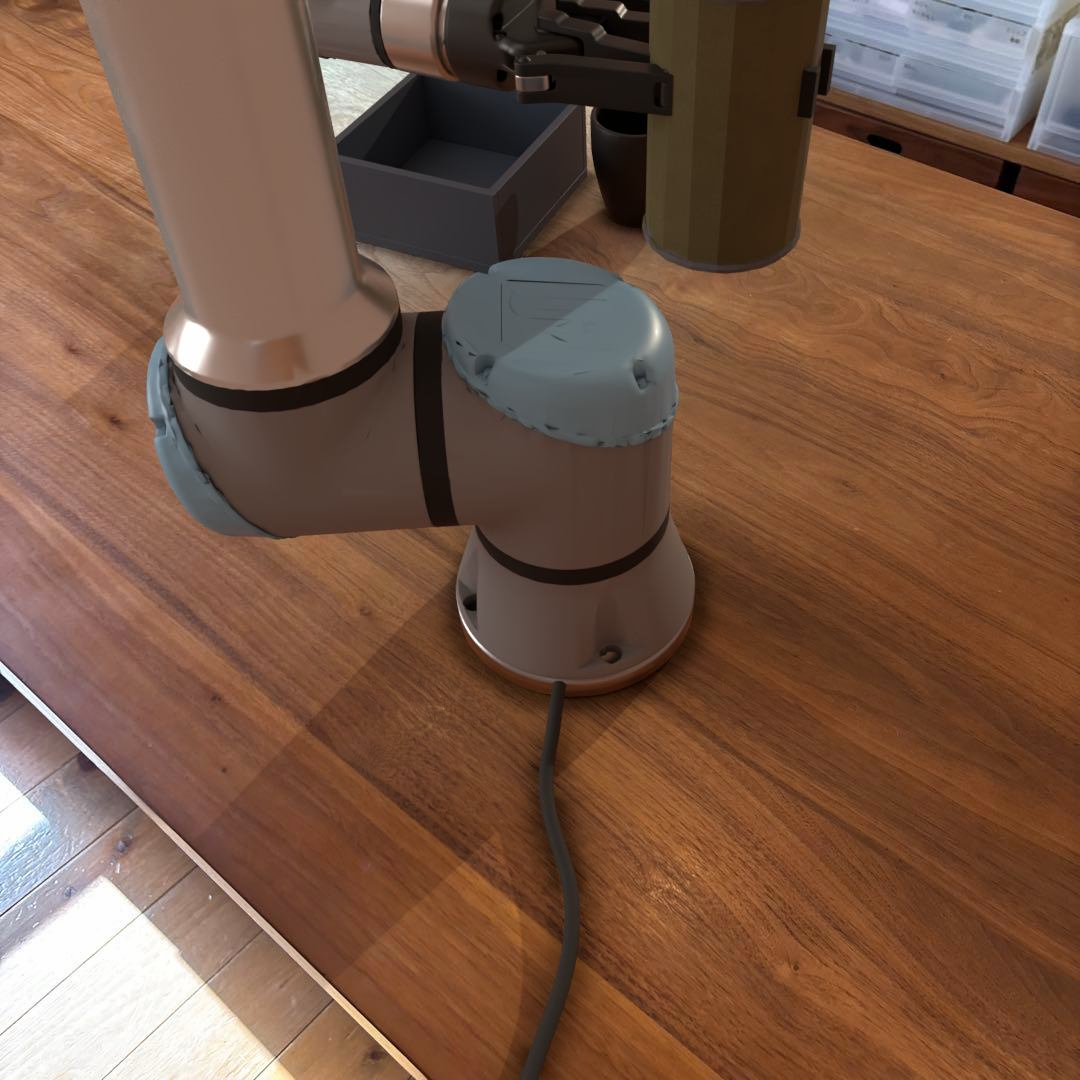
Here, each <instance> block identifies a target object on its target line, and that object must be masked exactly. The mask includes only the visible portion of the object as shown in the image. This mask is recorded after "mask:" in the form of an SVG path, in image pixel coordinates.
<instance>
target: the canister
mask: <svg viewBox="0 0 1080 1080" xmlns="http://www.w3.org/2000/svg"><path fill="white" fill-rule="evenodd" d="M830 3H831V0H650V27H649V52H650V64H657V65H658V66H659V67H661V68H662V69H665V68H666V69H668V72H669V74H671V75H673V100H672V116H664V115H655V114H648V124H647V172H646V213H645V215H644V217H643V223H642V227H641V228H642V232H643V236H644V239H645V240H644V241H645V242H646V243H647V245H648V246H649V247H650V249H651V250H652V251H653V252H654V253H656V254H657V255H659V256H660V257H662V258H663V259H664V260H665V261H667V262H669V263H672V264H675V265H677V266H680V267H682V268H685V269H689V270H690V271H697V272H703V273H712V274H724V275H729V274H737V273H739V274H740V273H745V272H751V271H755V270H759V269H764V268H765V267H769V266H771V265H773V264H775V263H777V262H778V261H779V260H781V259H782V258H784V257H785V256H787V255H788V254H789V253H790V252H792V250H793V249H794V248H795V247H796V246H797V244H798V243H799V240H800V238H801V232H802V220H801V218H800V214H801V208H802V201H803V194H804V193H803V192H804V186H805V180H806V172H807V167H808V166H807V165H808V157H809V150H810V145H811V137H812V130H813V122H814V117H815V114H814V115H813V116H812V118H811V119H809V118H804V117H798V116H797V113H798V105H799V97H800V89H801V80H802V72H803V70H804V69H806V68H807V67H809V66H810V65H813V66H819V67H820V66H821V59H822V52H823V46H824V43H825V39H826V31H827V26H828V25H827V24H828V19H829V18H828V17H829V10H830ZM655 97H657V98H658V99H659V83H656V84H655Z"/></svg>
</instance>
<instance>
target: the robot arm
mask: <svg viewBox="0 0 1080 1080" xmlns="http://www.w3.org/2000/svg"><path fill="white" fill-rule="evenodd" d="M78 1H79V3H80V7H81V9H82V13H83V16H84V18H85V21H86V24H87V27H88V29H89V33H90V35H91V38H92V41H93V44H94V47H95V50H96V53H97V56H98V58H99V62H100V64H101V67H102V70H103V73H104V76H105V78H106V81H107V84H108V87H109V90H110V93H111V96H112V99H113V101H114V105H115V107H116V110H117V113H118V116H119V119H120V122H121V125H122V128H123V131H124V133H125V137H126V139H127V143H128V145H129V147H130V151H131V153H132V156H133V159H134V162H135V165H136V167H137V171H138V173H139V176H140V180H141V182H142V186H143V188H144V191H145V194H146V196H147V200H148V202H149V205H150V209H151V211H152V214H153V217H154V221H155V222H156V225H157V228H158V232H159V234H160V237H161V240H162V242H163V246H164V248H165V251H166V254H167V257H168V260H169V263H170V266H171V268H172V271H173V272H172V273H173V275H174V277H175V280H176V283H177V287H178V289H179V291H180V292H179V294H178V295H177V296H176V298H175V299H174V301H173V302H172V303H171V305H170V307H169V309H168V311H167V312H166V314H165V317H164V321H163V324H162V334H163V335H161V337H160V338H159V339H158V340H157V341H156V344H155V345H154V347H153V350H152V352H151V355H150V358H149V362H148V366H147V373H146V405H147V413H148V418H149V420H150V421H151V422H153V424H154V428H155V436H154V438H153V444H154V448H155V451H156V455H157V458H158V461H159V463H160V466H161V469H162V472H163V473H164V476H165V478H166V480H167V482H168V484H169V486H170V488H171V490H172V491H173V493H174V495H175V496H176V498H177V500H178V501H179V502H180V504H181V505H182V507H183V508H184V509H185V511H186V512H187V513H188V514H189V515H190V516H191V517H192V518H193V519H194V520H195V521H196V522H197V523H199V524H200V525H201V526H203V527H204V528H206V529H208V530H210V531H211V532H214V533H217V534H218V535H222V536H227V537H238V538H239V537H240V538H242V537H243V538H244V537H245V538H247V537H248V538H249V537H251V538H267V539H272V540H276V541H278V540H286V539H296V538H299V537H307V536H321V535H337V534H352V533H367V532H368V533H369V532H381V531H397V530H412V529H426V528H427V529H429V528H445V527H464V526H465V527H466V526H472V527H471V529H470V532H469V536H468V539H467V542H466V545H465V548H464V551H463V555H462V558H461V561H460V563H459V567H458V571H457V575H456V582H455V599H456V605H457V611H458V616H459V621H460V622H459V623H460V626H461V628H462V632H463V634H464V637H465V639H466V641H467V643H468V645H469V647H470V648H471V649H472V651H473V652H474V653H475V655H476V656H477V657H478V658H479V659H480V660H481V662H482V663H483V664H484V665H486V666H487V668H489V669H491V671H492V672H493V673H496V675H498V676H500V677H501V678H503V679H504V680H506V681H508V682H510V683H512V684H514V685H517V686H518V687H520V688H523V689H526V690H529V691H532V692H536V693H540V694H544V695H549V696H550V699H549V700H550V701H549V706H548V712H547V720H546V726H545V733H544V739H543V744H542V748H541V753H540V760H539V767H538V768H539V769H538V794H539V801H540V809H541V814H542V819H543V823H544V827H545V830H546V834H547V838H548V841H549V844H550V847H551V851H552V853H553V857H554V860H555V864H556V867H557V871H558V874H559V879H560V883H561V889H562V897H563V909H564V913H563V915H564V916H563V918H564V919H563V923H564V924H563V935H562V943H561V950H560V956H559V960H558V961H559V962H558V966H557V970H556V974H555V977H554V981H553V985H552V988H551V991H550V995H549V998H548V1001H547V1002H546V1003H547V1004H546V1006H545V1008H544V1012H543V1014H542V1017H541V1020H540V1022H539V1025H538V1027H537V1028H538V1029H537V1030H536V1033H535V1036H534V1039H533V1040H532V1044H531V1046H530V1050H529V1052H528V1055H527V1058H526V1061H525V1063H524V1066H523V1069H522V1072H521V1075H520V1079H519V1080H540V1076H541V1073H542V1070H543V1067H544V1065H545V1061H546V1059H547V1055H548V1053H549V1050H550V1047H551V1044H552V1042H553V1039H554V1036H555V1034H556V1031H557V1028H558V1025H559V1023H560V1020H561V1017H562V1015H563V1011H564V1008H565V1005H566V1003H567V999H568V997H569V992H570V988H571V985H572V983H573V978H574V973H575V968H576V965H577V964H576V963H577V957H578V953H579V944H580V932H581V901H580V894H579V887H578V882H577V877H576V873H575V872H576V871H575V869H574V865H573V862H572V858H571V855H570V852H569V849H568V846H567V844H566V840H565V837H564V834H563V831H562V828H561V823H560V819H559V815H558V811H557V805H556V800H555V788H554V771H555V761H556V756H557V752H558V747H559V741H560V735H561V727H562V719H563V713H564V705H565V698H566V697H568V698H570V697H571V698H573V697H575V698H576V697H590V696H591V697H592V696H598V695H604V694H608V693H612V692H616V691H619V690H622V689H625V688H628V687H630V686H632V685H634V684H636V683H638V682H641V681H642V680H644V679H646V678H648V677H649V676H651V675H652V674H653V673H655V672H656V671H658V670H659V669H660V668H661V667H663V666H664V665H665V664H666V663H667V662H668V661H669V660H670V659H671V658H672V657H673V656H674V655H675V654H676V652H677V651H678V649H679V648H680V647H681V646H682V643H683V642H684V640H685V638H686V637H687V634H688V631H689V629H690V626H691V624H692V619H693V615H694V609H695V608H694V607H695V595H696V578H695V571H694V566H693V563H692V560H691V558H690V555H689V553H688V550H687V549H686V546H685V545H684V543H683V541H682V539H681V537H680V533H679V531H678V528H677V526H676V524H675V520H674V519H673V517H672V514H671V511H670V507H671V506H670V505H671V488H672V459H673V458H672V457H673V438H674V420H675V418H676V415H677V411H678V409H679V402H680V390H679V385H678V380H677V378H676V361H675V360H676V355H675V353H676V352H675V344H674V338H673V335H672V330H671V328H670V325H669V324H668V321H667V319H666V317H665V316H664V313H663V312H662V311H661V309H659V307H658V305H657V304H656V303H655V302H654V300H652V298H650V297H649V295H647V294H646V292H644V291H643V290H641V288H639V287H638V286H635V285H633V284H630V283H628V282H627V281H625V280H624V279H623V277H621V275H619V274H617V273H615V272H613V271H611V270H608V269H606V268H603V267H600V266H598V265H595V264H591V263H588V262H583V261H580V260H575V259H570V258H562V257H553V256H552V257H551V256H531V257H527V256H526V257H520V258H519V257H518V258H517V259H513V260H508V261H504V262H500V263H497V264H494V265H492V266H491V267H490V269H489V272H488V274H484V273H480V272H475V273H472V274H471V275H469V276H468V277H467V278H465V280H464V281H462V282H461V283H460V284H459V285H458V286H457V287H456V288H455V289H454V291H453V292H452V294H451V296H450V298H449V299H448V301H447V305H446V307H445V308H444V309H443V310H430V311H429V310H427V311H413V312H412V311H410V312H402V310H401V304H400V300H399V299H400V298H399V293H398V290H397V287H396V285H395V283H394V280H393V278H392V277H391V275H390V273H389V272H387V271H386V269H385V268H383V266H381V265H380V264H379V263H378V262H376V261H374V260H372V259H371V258H369V257H367V256H366V255H363V254H362V253H359V249H358V243H357V240H356V239H355V234H354V229H353V224H352V219H351V214H350V209H349V204H348V199H347V194H346V189H345V184H344V179H343V174H342V169H341V164H340V160H339V155H338V150H337V145H336V140H335V137H336V136H335V135H336V134H335V131H334V125H333V121H332V115H331V109H330V105H329V100H328V96H327V91H326V86H325V80H324V76H323V70H322V66H321V61H320V59H322V60H329V59H332V60H343V61H347V62H348V61H349V62H354V63H359V64H360V63H361V64H366V65H371V66H377V67H383V68H387V69H390V70H397V71H400V72H405V73H408V74H409V73H413V74H417V75H422V76H427V77H431V78H436V79H441V80H445V81H450V82H458V81H461V82H463V83H465V84H469V85H474V86H479V87H484V88H489V89H494V90H499V91H505V92H509V91H513V90H516V96H517V102H519V103H521V104H537V103H563V104H571V105H580V106H586V107H589V108H593V107H596V108H605V109H613V110H622V111H630V112H638V113H647V114H655V115H664V116H672V100H673V75H671V74H669V72H668V69H666V68H665V69H662V68H661V67H659V66H658V65H657V64H650V52H649V27H650V0H78ZM836 52H837V44H834V43H827V42H824V46H823V52H822V59H821V66H820V67H819V66H813V65H810V66H809V67H807V68H806V69H804V70H803V72H802V80H801V89H800V97H799V105H798V113H797V116H798V117H804V118H809V119H811V118H812V116H813V115H814V116H815V114H816V106H817V100H818V99H817V98H818V96H824V97H826V96H827V95H828V94H829V92H830V91H831V85H832V78H833V71H834V66H835V65H834V64H835V58H836ZM656 83H659V99H658V98H657V97H655V84H656Z"/></svg>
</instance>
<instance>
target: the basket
mask: <svg viewBox="0 0 1080 1080" xmlns="http://www.w3.org/2000/svg"><path fill="white" fill-rule="evenodd" d="M335 140H336V145H337V150H338V155H339V160H340V164H341V169H342V174H343V179H344V184H345V189H346V194H347V199H348V204H349V209H350V214H351V219H352V224H353V229H354V234H355V239H356V242H361V243H365V244H368V245H373V246H377V247H380V248H384V249H388V250H391V251H392V250H393V251H395V252H399V253H404V254H407V255H412V256H415V257H419V258H422V259H426V260H431V261H434V262H438V263H442V264H444V265H445V264H446V265H449V266H454V267H458V268H462V269H464V270H465V269H466V270H469V271H473V272H475V273H477V272H480V273H484V274H488V272H489V269H490V267H491V266H492V265H494V264H497V263H500V262H504V261H508V260H513V259H518V258H519V257H520V256H521V255H522V254H523V253H524V252H525V250H526V249H527V248H528V247H529V246H530V245H531V243H532V242H533V241H534V240H535V239H536V237H538V235H539V234H540V233H541V232H542V230H543V229H544V228H545V227H546V226H547V224H548V223H549V222H550V221H551V220H552V219H553V218H554V216H555V215H556V214H557V213H558V212H559V210H561V208H562V207H563V206H564V204H566V203H567V201H568V200H569V199H570V197H572V195H573V194H574V193H575V191H576V190H577V189H578V188H579V187H580V186H581V185H582V184H583V182H584V181H585V180H586V179H587V178H588V153H587V152H588V148H587V147H588V146H587V145H588V143H587V141H588V140H587V106H580V105H571V104H563V103H537V104H521V103H519V102H517V96H516V90H513V91H509V92H505V91H499V90H494V89H489V88H484V87H479V86H474V85H469V84H465V83H463V82H461V81H458V82H450V81H445V80H441V79H436V78H431V77H427V76H422V75H417V74H413V73H408V74H407V75H406V76H404V77H403V78H402V79H401V80H400V81H399V82H397V83H396V84H395V85H394V86H393V87H391V88H390V89H389V90H388V91H387V92H386V93H385V94H384V95H382V96H381V97H380V98H379V99H378V100H376V101H375V103H373V104H372V105H371V106H370V107H369V108H367V109H366V110H365V111H363V113H362V114H360V115H359V116H358V117H357V118H356V119H355V120H354V121H352V122H351V123H350V124H349V125H347V126H346V128H344V129H343V130H342V131H341V132H340V133H338V134H337V135H336V136H335Z"/></svg>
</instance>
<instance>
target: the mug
mask: <svg viewBox="0 0 1080 1080" xmlns="http://www.w3.org/2000/svg"><path fill="white" fill-rule="evenodd" d="M589 121H590V123H589V125H590V128H589V129H590V151H591V152H590V153H591V159H592V165H593V169H594V174H595V177H596V181H597V185H598V189H599V192H600V195H601V198H602V201H603V204H604V206H605V209H606V214H607V216H608V217H609V219H610V220H611V221H612V222H614V223H616V224H618V225H620V226H623V227H628V228H642V223H643V217H644V215H645V213H646V172H647V124H648V114H647V113H638V112H630V111H622V110H613V109H605V108H596V107H592V109H591V111H590V117H589Z"/></svg>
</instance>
